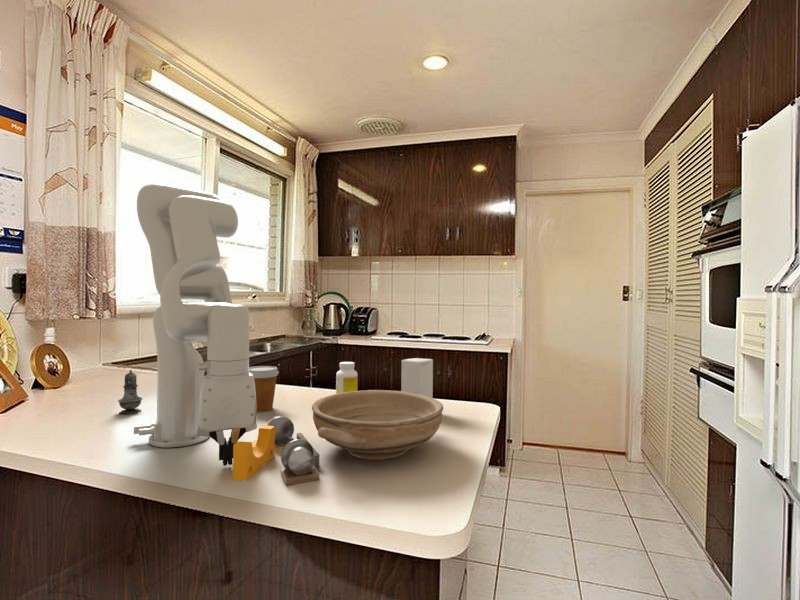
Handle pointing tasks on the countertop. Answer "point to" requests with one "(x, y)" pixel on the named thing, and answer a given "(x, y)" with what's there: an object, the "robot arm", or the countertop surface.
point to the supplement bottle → (346, 378)
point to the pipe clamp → (253, 453)
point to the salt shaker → (130, 396)
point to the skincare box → (417, 376)
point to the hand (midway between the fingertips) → (227, 462)
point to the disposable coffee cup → (264, 386)
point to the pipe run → (295, 453)
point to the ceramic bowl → (377, 421)
